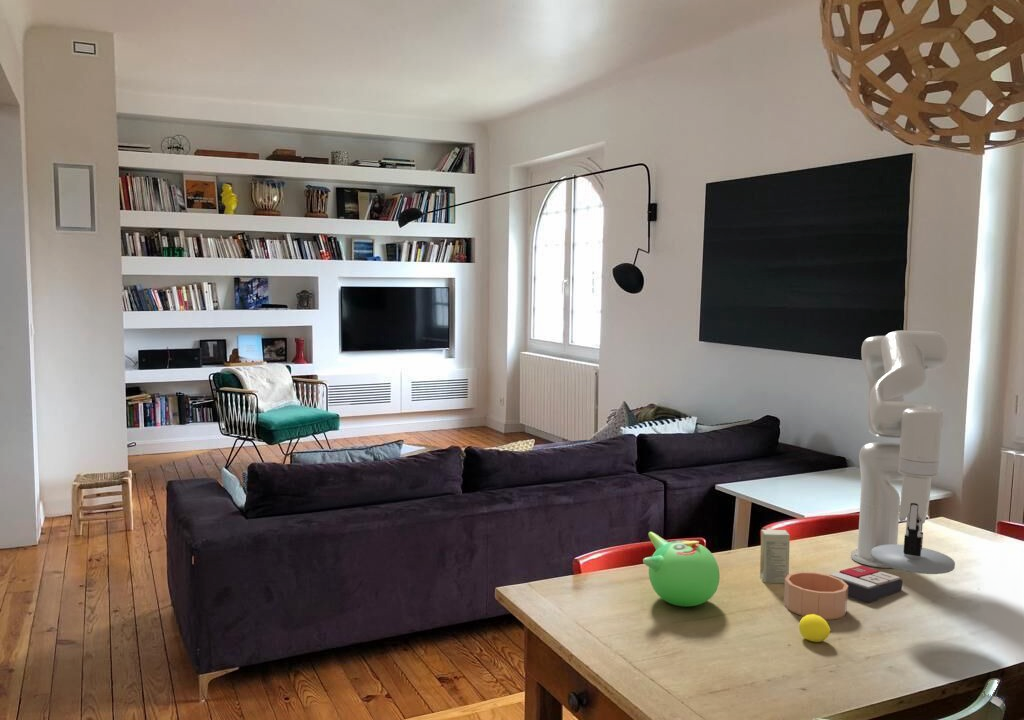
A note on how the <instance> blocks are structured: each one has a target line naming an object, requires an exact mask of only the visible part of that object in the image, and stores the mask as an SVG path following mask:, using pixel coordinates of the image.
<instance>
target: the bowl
mask: <svg viewBox="0 0 1024 720" xmlns="http://www.w3.org/2000/svg"><path fill="white" fill-rule="evenodd" d="M783 589H784V591H783V604H784V607H785V608H786V609H787V610H788V611H790V612H791V613H793V614H796V615H798V616H801V617H804V616H806V615H810V614H815V615H818V616H821V617H822V618H823V619H824V620H826V621H830V620H838V619H839V620H840V619H841V618H844V617H845V616H846V615H847V614H846V613H847V611H848V601H849V599H848V598H849V597H848V585H847V584H846V583H845V582H844V581H843V580H841V579H839V578H836V577H833V576H831V575H830V574H825V573H821V572H815V571H797V572H793V573H789V574H788V575H787V576H786V578H785V583H784V588H783Z"/></svg>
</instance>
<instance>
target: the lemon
mask: <svg viewBox="0 0 1024 720" xmlns="http://www.w3.org/2000/svg"><path fill="white" fill-rule="evenodd" d="M798 629H799V632H800V634H801V636H802V637H803V638H804V639H805V640H807V641H809V642H813V643H819V642H823V641H825V640H826V639H827V638H828V637H829V636H830V634H831V633H832V630H831V628H830V625H829V624H828V622H827V620H824V619H823V618H822V617H821V616H818V615H815V614H810V615H806V616H802V618H801V619H800V621H799V623H798Z"/></svg>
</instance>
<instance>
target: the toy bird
mask: <svg viewBox="0 0 1024 720" xmlns="http://www.w3.org/2000/svg"><path fill="white" fill-rule="evenodd" d="M648 538H649V540H650V542H651V543H652V544H653V545H652V546H653V547H654V548H655V551H654V552H653V554H652V555H651V556H647V557H644V558H643V559H642V563H643V564H644V565H646V567H648V578H649V581H650V584H651V587H652V588H653V591H654V592H655V593H656V595H657V596H658V597H660V598H661V599H662V600H663V601H665V602H666V603H669V604H670V605H674V606H678V607H685V608H686V607H688V608H689V607H694V606H698V605H702V604H704V603H706V602H708V601H709V600H710V599H711V598H713V596H714V594H715V593H716V592H717V590H718V587H719V584H720V580H721V579H720V578H721V577H720V576H721V575H720V568H719V565H718V562H717V560H716V557H715V556H714V555H713V553H712V552H711V551H710V550H709V549H708V548H707V547H706V546H704V545H702V544H699V543H700V541H699V540H683V539H682V540H681V539H677V540H673V541H667V540H666V539H664V538H662V537H661V535H660V536H659V534H657V533H655V532H653V531H649V532H648Z"/></svg>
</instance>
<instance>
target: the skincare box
mask: <svg viewBox="0 0 1024 720" xmlns="http://www.w3.org/2000/svg"><path fill="white" fill-rule="evenodd" d="M760 535H761V536H760V563H759V564H760V565H759V567H760V569H759V574H760V575H759V577H760V579H761V581H762V583H767V584H768V583H770V584H772V583H775V584H785V578H786V576H787V575H788V574H790V542H791V541H790V540H791V539H790V537H791V536H790V534H789V532H788V531H787V530H786V529H760Z"/></svg>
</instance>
